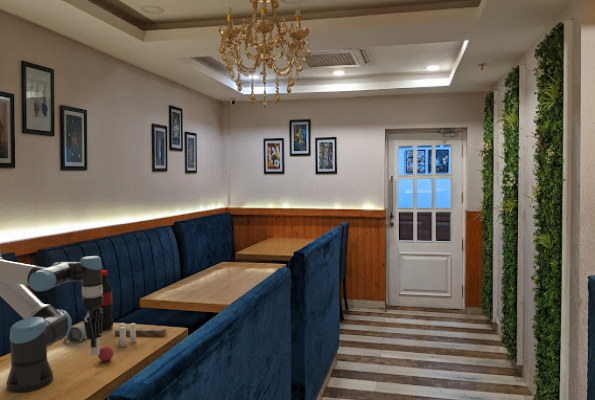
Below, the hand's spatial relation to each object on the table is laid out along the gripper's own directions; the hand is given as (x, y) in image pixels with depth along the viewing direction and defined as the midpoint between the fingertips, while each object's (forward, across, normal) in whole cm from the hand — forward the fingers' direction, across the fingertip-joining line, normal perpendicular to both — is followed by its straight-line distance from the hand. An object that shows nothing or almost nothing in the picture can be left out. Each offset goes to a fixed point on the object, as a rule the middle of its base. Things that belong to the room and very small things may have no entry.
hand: (95, 354), depth 185 cm
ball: (+3, +10, 0) cm, 10 cm away
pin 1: (+6, +31, +3) cm, 32 cm away
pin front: (+6, +26, 0) cm, 27 cm away
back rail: (+6, +41, -2) cm, 42 cm away
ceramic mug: (+6, +33, +26) cm, 43 cm away
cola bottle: (+6, +50, +20) cm, 54 cm away
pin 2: (+6, +32, -2) cm, 32 cm away
